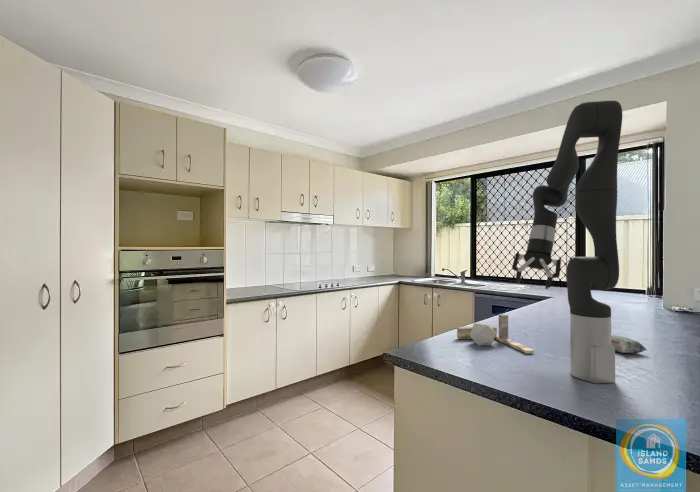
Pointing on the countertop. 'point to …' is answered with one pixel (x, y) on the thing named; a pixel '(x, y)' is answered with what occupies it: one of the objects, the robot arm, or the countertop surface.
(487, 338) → the die
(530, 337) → the countertop surface
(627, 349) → the packaged food
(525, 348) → the l-shaped corner bracket
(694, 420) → the countertop surface
